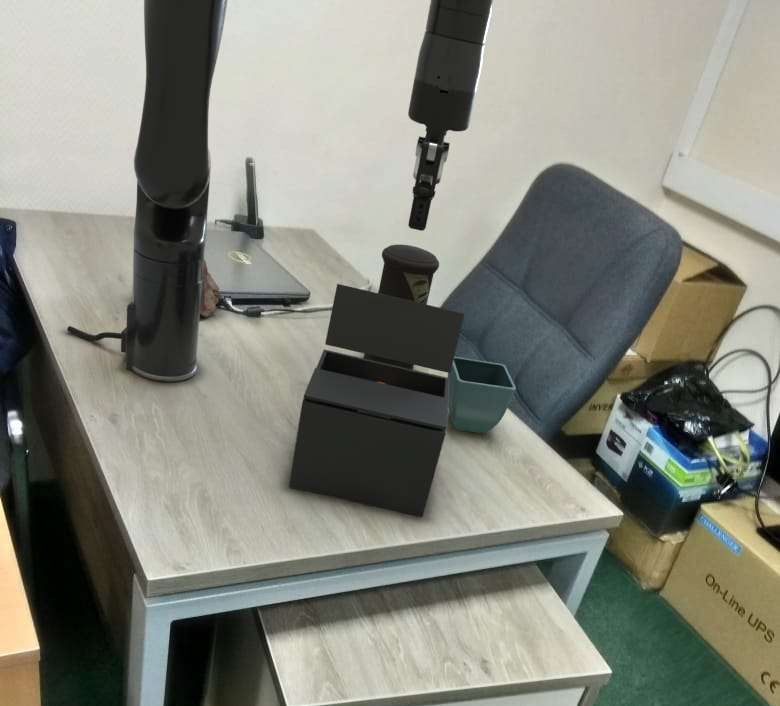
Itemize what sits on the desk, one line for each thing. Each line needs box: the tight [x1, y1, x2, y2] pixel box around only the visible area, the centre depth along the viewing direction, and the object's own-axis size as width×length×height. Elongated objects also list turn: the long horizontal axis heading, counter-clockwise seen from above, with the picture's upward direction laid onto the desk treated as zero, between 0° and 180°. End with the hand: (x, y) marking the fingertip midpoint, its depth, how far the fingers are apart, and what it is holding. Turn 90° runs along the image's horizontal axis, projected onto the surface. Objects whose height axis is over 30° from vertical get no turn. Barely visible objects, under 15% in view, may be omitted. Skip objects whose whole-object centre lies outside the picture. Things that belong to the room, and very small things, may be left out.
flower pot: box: [446, 356, 517, 435], centre depth 121 cm, size 9×9×9 cm
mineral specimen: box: [200, 259, 221, 318], centre depth 135 cm, size 12×13×15 cm
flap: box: [324, 283, 465, 374], centre depth 105 cm, size 17×8×1 cm
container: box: [363, 244, 440, 370], centre depth 129 cm, size 9×9×20 cm
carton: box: [288, 349, 449, 518], centre depth 103 cm, size 17×16×13 cm
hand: (418, 220), depth 104 cm, fingers open, 8 cm apart
